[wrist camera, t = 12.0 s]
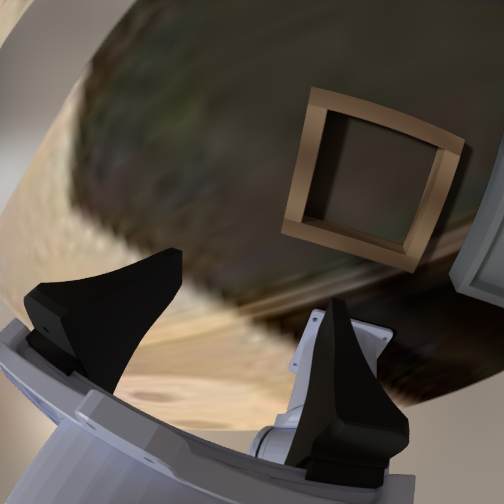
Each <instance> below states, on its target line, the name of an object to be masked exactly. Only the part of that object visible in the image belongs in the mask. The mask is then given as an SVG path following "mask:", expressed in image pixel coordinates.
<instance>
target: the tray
mask: <svg viewBox="0 0 504 504" xmlns="http://www.w3.org/2000/svg"><path fill="white" fill-rule="evenodd" d="M449 276H450V278H451V280H452V283H453V285H454V287H455V290H456V292H459V293H462V294H465V295H468V296H471V297H474V298H477V299H480V300H483V301H486V302H489V303H491V304H494V305H497V306H500V307H503V308H504V132H503V136H502V140H501V144H500V148H499V151H498V155H497V158H496V162H495V165H494V168H493V171H492V174H491V177H490V180H489V183H488V186H487V189H486V192H485V194H484V197H483V200H482V202H481V205H480V207H479V210H478V212H477V215H476V217H475V219H474V222H473V224H472V226H471V229H470V231H469V233H468V235H467V238H466V240H465V242H464V244H463V246H462V248H461V250H460V252H459V254H458V256H457V258H456V260H455V262H454V264H453V266H452V268H451V270H450V272H449Z"/></svg>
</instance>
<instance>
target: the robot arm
mask: <svg viewBox="0 0 504 504" xmlns="http://www.w3.org/2000/svg"><path fill="white" fill-rule="evenodd" d="M181 285H182V251H181V250H178V249H175V248H169V249H166V250H164V251H161V252H159V253H157V254H154V255H152V256H150V257H148V258H145V259H143V260H141V261H138V262H136V263H133V264H131V265H128V266H126V267H123V268H121V269H118V270H115V271H112V272H109V273H105V274H102V275H98V276H94V277H89V278H85V279H80V280H73V281H65V282H49V283H40V284H39V285H37V286H36V287H35V288H34V289H33V290H32V291H30V292H29V293H28V294H27V295H26V296H25V297H24V306H25V308H26V311H27V313H28V315H29V318H30V320H31V322H32V324H33V326H34V329H33V330H32V331H30V330H29V329H28V328H27V327H26V326H25V325H24V324H23V323H22V322H21V321H19V320H18V319H17V318H14V319H13V320H12V321H11V322H10V323H9V324H8V325H7V326H6V327H5V328H4V329H3V330H2V331H1V332H0V369H1V370H2V371H3V373H4V374H5V375H6V377H7V378H8V379H9V380H10V381H11V382H12V383H13V384H14V385H15V386H16V387H17V388H18V389H19V390H20V391H21V392H22V393H23V394H24V395H25V396H26V397H27V398H28V399H29V400H30V401H31V402H32V403H33V404H34V405H35V406H36V407H37V408H38V409H40V411H42V412H43V413H44V414H45V415H46V416H47V417H48V418H49V419H51V420H52V421H53V422H54V423H55V424H56V425H57V426H58V427H57V428H56V429H55V431H54V432H53V434H52V435H51V436H50V438H49V439H48V440H47V442H46V443H45V445H44V446H43V447H42V449H41V450H40V452H39V453H38V455H37V456H36V457H35V459H34V460H33V462H32V463H31V464H30V466H29V467H28V469H27V470H26V472H25V473H24V475H23V476H22V478H21V479H20V480H19V482H18V483H17V485H16V487H15V488H14V490H13V491H12V493H11V494H10V496H9V497H8V499H7V500H6V502H5V503H4V504H413V501H414V491H415V477H416V476H415V475H401V474H389V463H390V458H392V457H393V456H395V455H396V454H398V453H400V452H401V451H402V450H404V449H405V448H406V447H407V446H408V444H409V422H408V418H406V416H405V415H404V414H403V413H402V412H401V411H400V410H399V409H398V407H397V406H396V405H395V404H394V403H393V401H392V400H391V399H390V398H389V396H388V395H387V394H386V392H385V391H384V389H383V388H382V386H381V385H380V383H379V382H378V380H377V379H376V376H377V358H378V357H379V355H380V354H381V353H382V351H383V350H384V348H385V347H386V345H387V344H388V342H389V341H390V339H391V338H392V336H393V331H392V330H390V329H387V328H383V327H380V326H376V325H372V324H369V323H365V322H361V321H358V320H354V319H351V318H350V316H349V312H348V309H347V305H346V302H345V301H344V300H340V299H337V298H334V297H332V298H331V300H330V303H329V305H328V307H327V310H326V311H323V310H319V309H315V310H313V311H312V313H311V316H310V318H309V321H308V323H307V326H306V328H305V331H304V333H303V336H302V338H301V340H300V343H299V345H298V348H297V350H296V352H295V355H294V357H293V359H292V362H291V364H290V366H289V371H291V372H293V373H297V375H296V379H295V383H294V386H293V390H292V394H291V398H290V401H289V405H288V408H287V412H286V414H278V415H277V417H276V420H275V423H274V426H266V427H264V428H263V429H261V430H260V431H259V432H258V434H257V435H256V436H255V437H254V439H253V440H252V442H251V444H250V446H249V448H248V451H247V454H244V453H241V452H237V451H235V450H232V449H229V448H226V447H223V446H220V445H218V444H215V443H212V442H210V441H207V440H204V439H202V438H199V437H197V436H194V435H192V434H190V433H187V432H185V431H183V430H180V429H178V428H176V427H174V426H171V425H169V424H167V423H165V422H163V421H161V420H159V419H157V418H155V417H153V416H151V415H149V414H147V413H145V412H143V411H141V410H139V409H137V408H135V407H133V406H131V405H130V404H128V403H126V402H124V401H122V400H121V399H119V398H117V397H116V396H114V395H113V393H114V391H115V389H116V386H117V384H118V382H119V380H120V378H121V376H122V374H123V372H124V370H125V368H126V366H127V364H128V362H129V360H130V358H131V357H132V355H133V353H134V351H135V350H136V348H137V346H138V345H139V343H140V342H141V340H142V338H143V337H144V335H145V334H146V333H147V331H148V330H149V329H150V327H151V326H152V325H153V324H154V322H155V321H156V320H157V319H158V318H159V316H160V315H161V314H162V313H163V311H164V310H165V309H166V308H167V306H168V305H169V304H170V303H171V301H172V300H173V299H174V297H175V295H176V294H177V292H178V290H179V289H180V287H181ZM314 318H317V319H314ZM384 337H387V338H384ZM388 474H389V475H388Z"/></svg>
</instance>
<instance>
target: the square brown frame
mask: <svg viewBox="0 0 504 504" xmlns="http://www.w3.org/2000/svg"><path fill="white" fill-rule="evenodd" d="M328 109H329V110H333V111H337V112H340V113H344V114H348V115H351V116H354V117H358V118H361V119H365V120H368V121H371V122H374V123H377V124H380V125H383V126H386V127H389V128H392V129H395V130H398V131H400V132H403V133H406V134H408V135H411V136H414V137H416V138H419V139H421V140H424V141H426V142H429V143H431V144H433V145H436V146H438V149H437V153H436V156H435V160H434V163H433V166H432V169H431V172H430V175H429V178H428V181H427V184H426V187H425V190H424V193H423V196H422V199H421V201H420V204H419V207H418V209H417V212H416V215H415V217H414V220H413V222H412V225H411V227H410V230H409V232H408V234H407V237H406V239H405V242H404V244H403V245H400V244H397V243H394V242H391V241H388V240H385V239H381V238H378V237H375V236H372V235H369V234H366V233H363V232H359V231H356V230H353V229H350V228H346V227H343V226H340V225H337V224H333V223H330V222H326V221H323V220H320V219H316V218H313V217H309V216H306V215H304V212H305V208H306V204H307V200H308V196H309V192H310V187H311V183H312V179H313V175H314V171H315V167H316V162H317V158H318V154H319V149H320V145H321V140H322V136H323V131H324V127H325V122H326V117H327V113H328ZM464 141H465V140H464V139H462V138H460V137H458V136H456V135H454V134H452V133H450V132H447V131H445V130H443V129H441V128H438V127H436V126H434V125H432V124H429V123H427V122H424V121H422V120H419V119H417V118H414V117H412V116H409V115H407V114H404V113H401V112H398V111H396V110H393V109H390V108H387V107H384V106H381V105H378V104H375V103H372V102H368V101H365V100H362V99H358V98H355V97H351V96H348V95H344V94H340V93H336V92H332V91H328V90H324V89H320V88H315V87H311V92H310V97H309V103H308V108H307V113H306V118H305V123H304V128H303V133H302V137H301V142H300V147H299V152H298V157H297V161H296V166H295V171H294V176H293V180H292V185H291V189H290V194H289V199H288V203H287V208H286V212H285V217H284V221H283V226H282V230H281V233H282V234H286V235H289V236H293V237H296V238H300V239H303V240H306V241H310V242H313V243H317V244H320V245H323V246H327V247H330V248H333V249H337V250H340V251H343V252H347V253H350V254H353V255H357V256H360V257H363V258H366V259H370V260H373V261H376V262H379V263H382V264H386V265H389V266H392V267H395V268H398V269H401V270H404V271H408V272H411V273H414V271H415V269H416V267H417V265H418V263H419V260H420V258H421V256H422V254H423V252H424V250H425V248H426V246H427V243H428V241H429V239H430V237H431V234H432V232H433V230H434V227H435V225H436V223H437V220H438V218H439V215H440V213H441V210H442V208H443V205H444V202H445V200H446V197H447V194H448V192H449V189H450V186H451V183H452V180H453V177H454V174H455V171H456V168H457V165H458V162H459V159H460V155H461V152H462V148H463V145H464Z"/></svg>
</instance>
